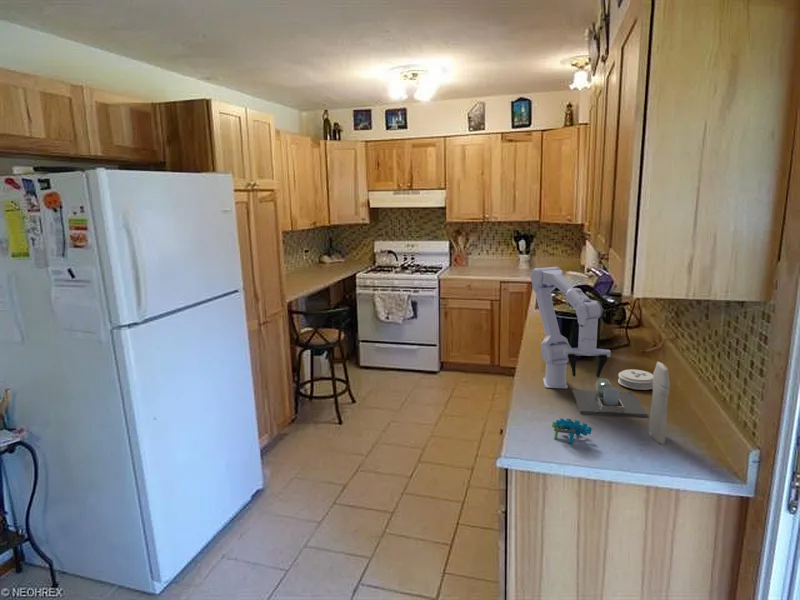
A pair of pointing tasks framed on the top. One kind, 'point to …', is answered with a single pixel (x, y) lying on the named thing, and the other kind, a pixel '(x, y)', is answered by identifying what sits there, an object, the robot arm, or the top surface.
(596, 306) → the robot arm
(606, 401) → the grey rounded capsule
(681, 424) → the top surface
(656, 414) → the tall pale column
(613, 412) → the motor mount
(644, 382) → the lid
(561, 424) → the teal bumpy piece
